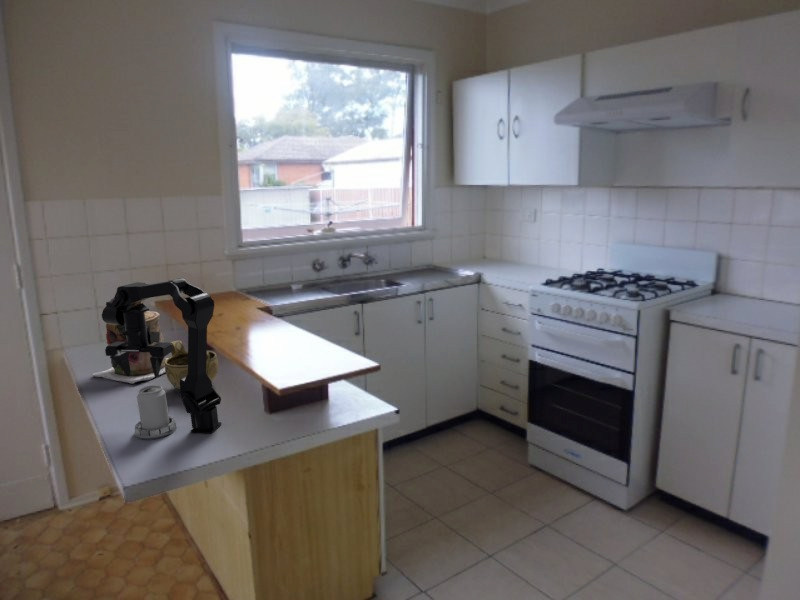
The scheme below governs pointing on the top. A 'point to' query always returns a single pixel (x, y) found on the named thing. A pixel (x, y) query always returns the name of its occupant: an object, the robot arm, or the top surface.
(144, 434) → the rosette plate
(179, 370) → the ceramic bowl
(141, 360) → the cookie jar
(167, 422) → the can
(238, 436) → the top surface
